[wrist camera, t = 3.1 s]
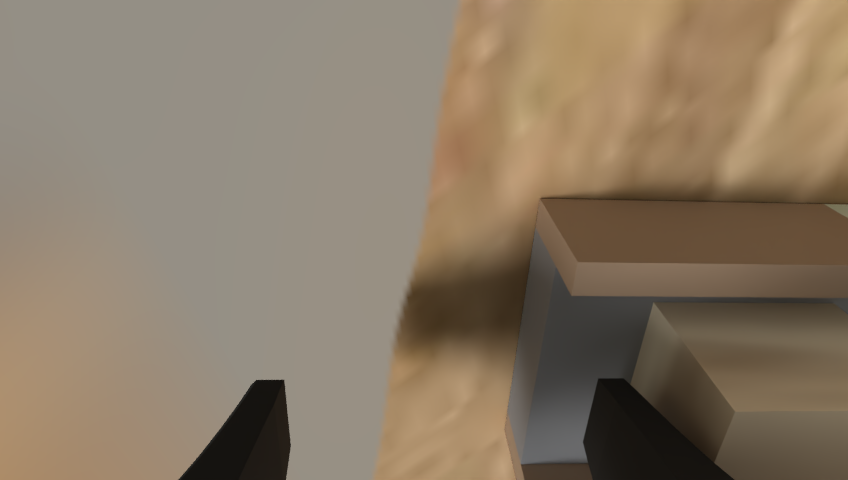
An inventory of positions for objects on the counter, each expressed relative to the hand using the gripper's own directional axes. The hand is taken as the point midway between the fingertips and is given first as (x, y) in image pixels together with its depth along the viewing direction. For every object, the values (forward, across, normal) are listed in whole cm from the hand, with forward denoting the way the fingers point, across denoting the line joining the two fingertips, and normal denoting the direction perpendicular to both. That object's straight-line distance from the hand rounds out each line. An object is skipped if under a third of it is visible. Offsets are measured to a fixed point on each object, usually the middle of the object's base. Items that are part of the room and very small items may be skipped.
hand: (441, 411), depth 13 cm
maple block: (+1, -7, 0) cm, 7 cm away
